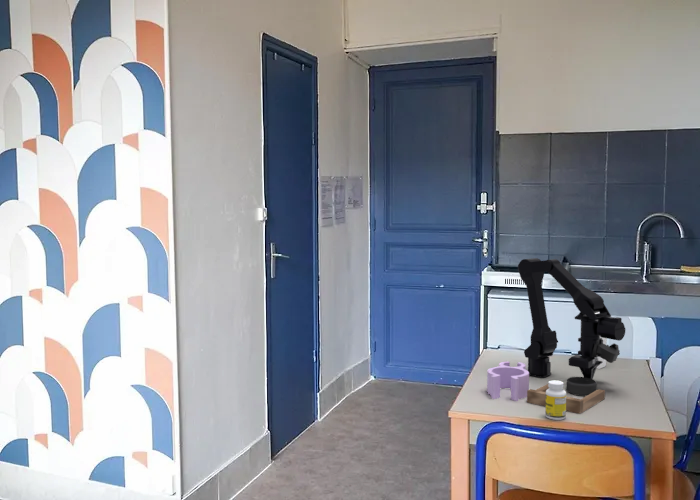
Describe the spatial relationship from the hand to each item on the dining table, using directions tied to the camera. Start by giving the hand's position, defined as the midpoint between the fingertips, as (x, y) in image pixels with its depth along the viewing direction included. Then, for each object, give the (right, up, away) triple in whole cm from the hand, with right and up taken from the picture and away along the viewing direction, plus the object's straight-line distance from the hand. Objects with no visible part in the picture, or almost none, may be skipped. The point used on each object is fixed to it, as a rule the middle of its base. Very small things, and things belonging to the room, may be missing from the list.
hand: (589, 384), depth 212 cm
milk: (+11, +1, +26) cm, 29 cm away
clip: (-26, -2, -2) cm, 26 cm away
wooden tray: (-11, -2, -12) cm, 16 cm away
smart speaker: (-4, -2, -4) cm, 6 cm away
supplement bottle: (-19, -4, -27) cm, 33 cm away
